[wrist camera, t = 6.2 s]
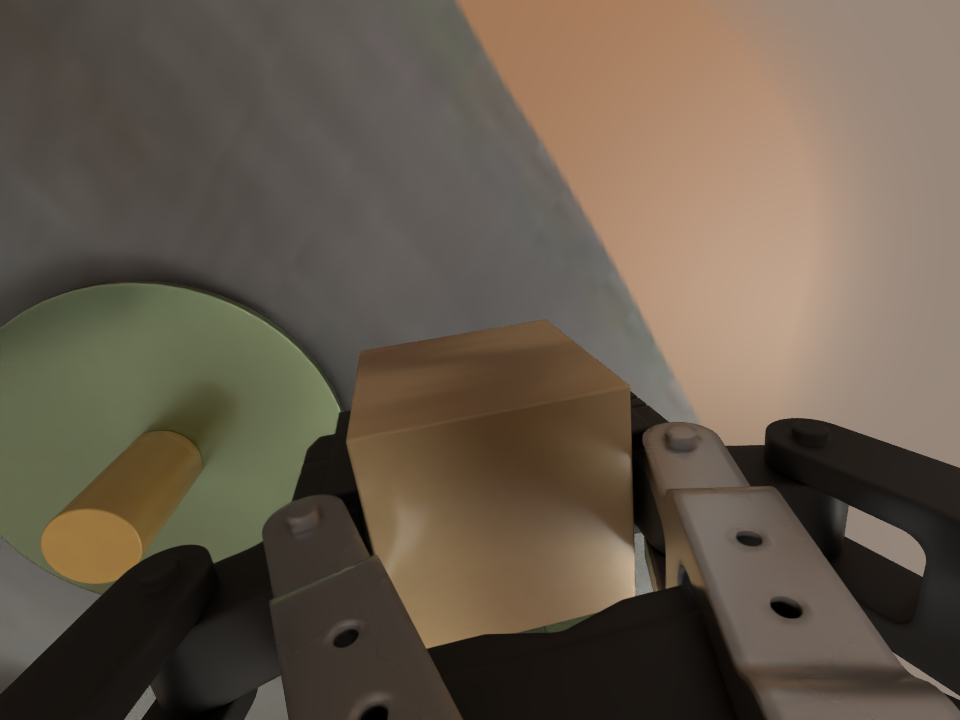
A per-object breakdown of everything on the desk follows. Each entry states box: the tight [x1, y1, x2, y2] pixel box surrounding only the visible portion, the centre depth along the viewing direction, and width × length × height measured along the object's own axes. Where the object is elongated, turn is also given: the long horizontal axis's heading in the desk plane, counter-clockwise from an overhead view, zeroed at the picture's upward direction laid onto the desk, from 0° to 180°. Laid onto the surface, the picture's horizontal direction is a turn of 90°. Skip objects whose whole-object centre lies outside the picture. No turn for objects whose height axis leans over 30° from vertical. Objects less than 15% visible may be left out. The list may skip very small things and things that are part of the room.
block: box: [346, 320, 636, 649], centre depth 11 cm, size 4×4×4 cm
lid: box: [0, 280, 343, 595], centre depth 17 cm, size 14×14×6 cm
